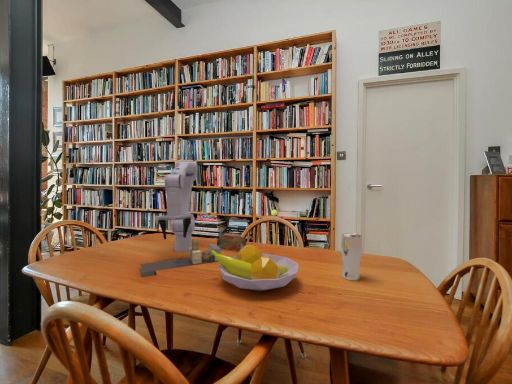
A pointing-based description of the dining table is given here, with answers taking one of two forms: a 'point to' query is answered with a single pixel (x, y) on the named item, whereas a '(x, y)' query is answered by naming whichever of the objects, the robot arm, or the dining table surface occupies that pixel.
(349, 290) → the dining table surface
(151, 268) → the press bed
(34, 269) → the dining table surface
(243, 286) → the fruit bowl
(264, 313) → the dining table surface
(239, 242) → the tin
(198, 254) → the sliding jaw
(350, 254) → the beer glass
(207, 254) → the walnut
